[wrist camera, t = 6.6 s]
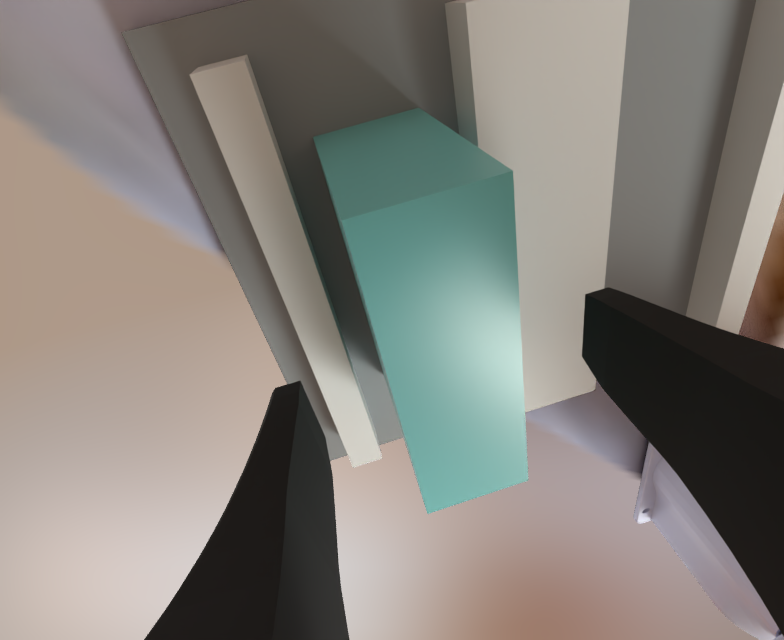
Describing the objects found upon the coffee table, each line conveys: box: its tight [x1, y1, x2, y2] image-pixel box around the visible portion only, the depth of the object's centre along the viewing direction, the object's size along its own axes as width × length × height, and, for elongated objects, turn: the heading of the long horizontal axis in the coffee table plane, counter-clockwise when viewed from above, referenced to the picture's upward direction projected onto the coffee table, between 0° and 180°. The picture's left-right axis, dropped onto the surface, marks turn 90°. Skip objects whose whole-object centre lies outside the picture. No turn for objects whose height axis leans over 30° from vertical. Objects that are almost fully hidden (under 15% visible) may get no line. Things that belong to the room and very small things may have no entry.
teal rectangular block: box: [313, 108, 528, 513], centre depth 13 cm, size 9×3×6 cm, turn 12°
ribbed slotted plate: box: [121, 0, 784, 467], centre depth 15 cm, size 16×19×2 cm
